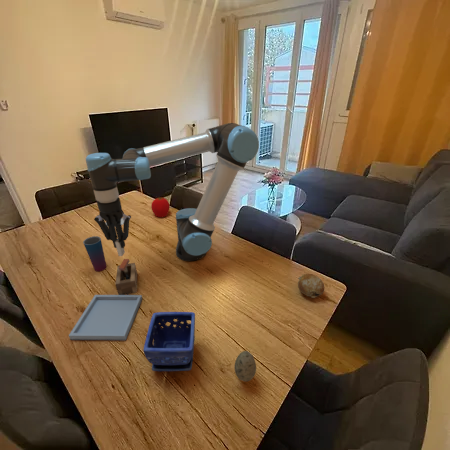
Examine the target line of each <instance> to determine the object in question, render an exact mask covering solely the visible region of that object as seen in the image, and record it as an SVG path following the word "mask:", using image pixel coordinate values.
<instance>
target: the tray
mask: <svg viewBox="0 0 450 450" xmlns="http://www.w3.org/2000/svg"><path fill="white" fill-rule="evenodd" d="M142 302H143V295H141V294H125V295H118V294H94V295H93V297H92V298H91V300H90V302H89V303H88V305H87V306H86V308H85V309H84V311H83V313H82V314H81V315H80V317H79V318H78V320H77V321H76V324H75V325H74V327H73V328H72V329H71V331H70V333H69V334H68V337H69V340H70V341H126V340H127V338H128V336H129V333H130V331H131V329H132V326H133V323H134V321H135V319H136V317H137V314H138V311H139V309H140V306H141V304H142Z"/></svg>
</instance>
